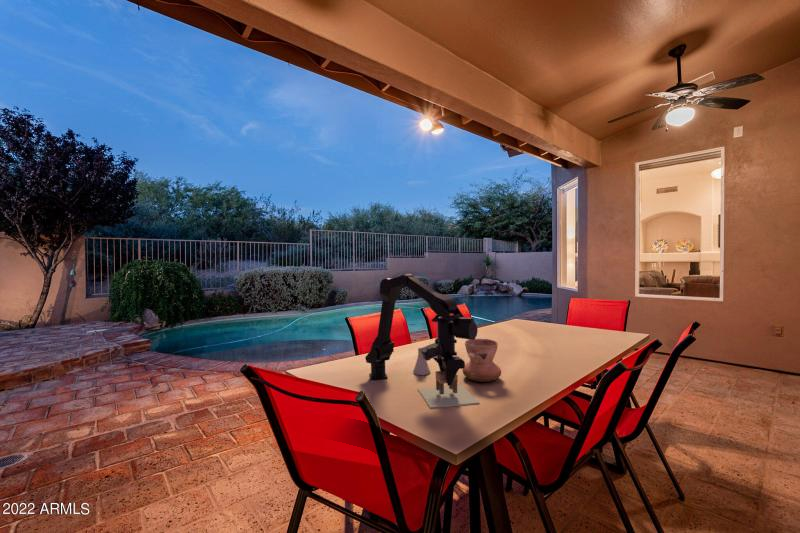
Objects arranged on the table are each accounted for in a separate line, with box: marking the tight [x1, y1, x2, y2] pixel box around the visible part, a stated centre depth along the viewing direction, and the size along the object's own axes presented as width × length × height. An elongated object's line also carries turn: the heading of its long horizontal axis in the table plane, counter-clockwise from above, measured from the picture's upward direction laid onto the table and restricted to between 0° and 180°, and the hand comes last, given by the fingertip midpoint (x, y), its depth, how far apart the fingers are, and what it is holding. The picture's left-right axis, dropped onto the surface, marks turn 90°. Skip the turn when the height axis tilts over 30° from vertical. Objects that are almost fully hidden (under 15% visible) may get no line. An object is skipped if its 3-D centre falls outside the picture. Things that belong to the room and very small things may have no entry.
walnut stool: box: [435, 370, 459, 394], centre depth 112 cm, size 6×5×6 cm
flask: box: [412, 347, 431, 376], centre depth 137 cm, size 7×7×10 cm
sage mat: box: [417, 384, 480, 409], centre depth 112 cm, size 16×16×1 cm
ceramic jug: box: [461, 338, 502, 383], centre depth 130 cm, size 18×14×14 cm
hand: (446, 382), depth 112 cm, fingers closed on walnut stool, 5 cm apart
